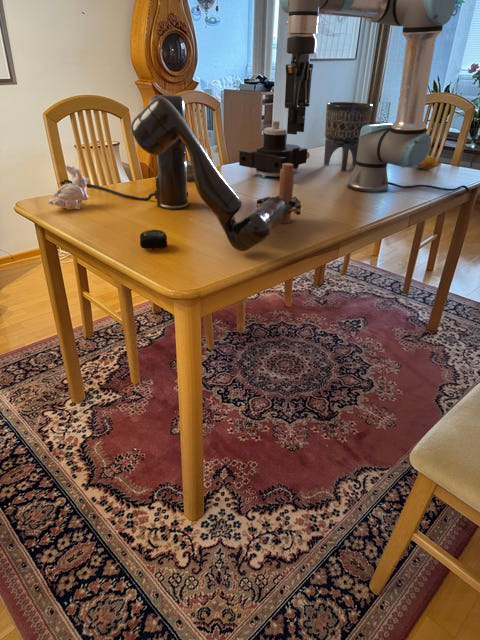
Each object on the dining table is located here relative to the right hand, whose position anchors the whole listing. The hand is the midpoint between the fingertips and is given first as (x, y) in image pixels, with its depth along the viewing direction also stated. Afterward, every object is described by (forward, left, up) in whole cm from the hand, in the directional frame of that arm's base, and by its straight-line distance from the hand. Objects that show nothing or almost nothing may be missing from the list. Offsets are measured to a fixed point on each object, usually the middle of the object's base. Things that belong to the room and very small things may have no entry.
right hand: (295, 132), depth 129 cm
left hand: (+1, 0, -19) cm, 19 cm away
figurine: (+70, -2, -25) cm, 75 cm away
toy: (-65, -86, -25) cm, 110 cm away
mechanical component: (+2, -63, -25) cm, 68 cm away
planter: (-26, -81, -25) cm, 89 cm away
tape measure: (+35, +30, -25) cm, 53 cm away
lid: (0, 0, +4) cm, 4 cm away
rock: (+37, -47, -25) cm, 65 cm away
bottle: (+2, +3, -25) cm, 25 cm away
